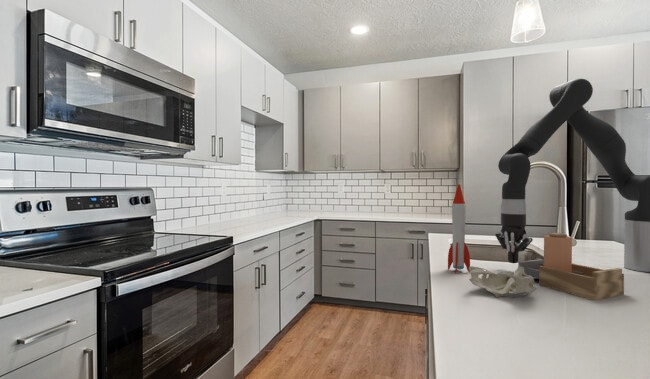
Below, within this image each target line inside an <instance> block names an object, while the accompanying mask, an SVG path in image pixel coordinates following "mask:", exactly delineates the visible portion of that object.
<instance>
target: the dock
mask: <svg viewBox="0 0 650 379" xmlns="http://www.w3.org/2000/svg"><path fill="white" fill-rule="evenodd" d="M572 270H573V271H578V272H582V273H583V275H579V274H575V273H570V272H566V271H562V270H557V269H553V268H549V267H544V266H539V279H538V282H539V283H538V284H539V286H543V287H546V288H549V287H550V289H553V290H557V291H561V292H564V293H566V294H567V293H568V294H570V295H573V296H578V297H582V298H584V299H588V300H593V301H597V300H601V299H602V300H603V299H607V298H611V297H617V296H623V295H624V294H625V274H624V273H623V268H620V267H613V268H609V269H601V268H596V267H592V266H586V265H581V264H577V263H572Z"/></svg>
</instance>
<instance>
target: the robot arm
mask: <svg viewBox="0 0 650 379" xmlns="http://www.w3.org/2000/svg"><path fill="white" fill-rule="evenodd" d="M593 90H594V88H593V85H592V83H591V82H590V81H589V80H588V79H585V78H575V79H571V80H569V81H566V82H564V83H560V84H559V85H556V86H554V87H553V88H552V89H551V90H550V92H549V95H548V96H549V101H550V104H551V106H552V107H553V108H552V109H550V111H548V112H547V113H546V114H545V115H544V116H542V117H541V118H540V119H538V120H537V121H536V122H535V123H533V124H532V125H531V126H530V127H529V128H528V129H527V130H526V132H525V133H524V135H523V136H522V137H521V138H520V139H519V140H518V142H517V143H516V144H514V145H512V147H511V148H510V149H509V150H507V151H506V152H505V153H504V154H503V155H502V156H501V158H500V160H499V161H498V163H497V164H498V166H497V168H498V171H499V172H501V173H502V174H503V175H508V179H507V181H506V182H504V183H503V184H502V187H501V205H500V224H501V225H500V226H502V227H501V229H500V232H498V233H495V238H496V239H497V241H498V243H499V244H500V246H501V247H502V249H503V250H506V251H507V261H508V263H510V264H517V263H518V262H519V253H520V252H524V251H525V250H526V249H527V247H528V246H529V245H531V243H532V242H533V240H534V239H533V238H532V237H529V236H528V235H527V231H526V229H525V228H526V226H527V202H526V186H527V183H528V180H529V177H530V172H531V165H532V164H531V160H530V159H529V158H530V157H533V156H535V155H537V154H538V153H539V152H540V151H541V150H542V149H543V147H544V145H545V144H546V143H547V142H548V141H549V140H550V139H551V137H553V135H554V134H555V133H556V132H557V131H558V130H559V129H560V127H561V126H562V125H564V124H565V122H567V123H568V124H569V125H570V126H571V128H573V130H574V132H576V134H577V135H578V136H579V137H580V138H581V139H582V141H583V143H584V144H585V146H586V147H587V148H588V150H589V151H590V152H591V154H593V156H594V157H595V158H596V159H597V160H598V162H599V164H600V165H601V167H602V168H603V169H604V170H605V171H606V172H607V175H608V177H609V178H610V180H611V181H612V183H613V185H614V187H615V188H616V190H617V191H618V192H619V194H620V196H621V197H622V198H624V199H626V200H628V201H633V202H637V206H636V207H634V208H633V209H631V210H628V211H626V212H625V213H624V239H623V240H624V242H623V244H624V246H623V252H624V253H623V267H624V268H625V269H628V270H632V271H637V272H644V273H645V272H646V273H650V174H635V173H634V172H633V171H632V170H631V169H630V167H629V166H628V163H627V162H626V153H627V146H626V142H625V140H624V139H623V137H622V136H621V134H620V133H619V132H618V130H616V128H614V127H613V126H612V125H611V124H609V123H608V122H606V121H604V120H602V119H600V118H599V117H596V116H594V115H593V114H591V113H590V112H588V110H586V108H585V107H584V106H585V105H586V103H588V102H589V101H590V99H591V98H592V96H593Z"/></svg>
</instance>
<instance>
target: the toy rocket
mask: <svg viewBox="0 0 650 379" xmlns="http://www.w3.org/2000/svg"><path fill="white" fill-rule="evenodd" d="M461 187H462V186H461V184H460V183H458V184H457V187H456V190H455V194H454V198H453V201H452V204H451V220H452V221H451V224H452V225H451V226H452V243H451V245H450V247H449V249H448V254H447V270H450V268H451V266H452V268H453V269H454V270H455V271H454V273H455V274H458V270H463V269H465V267H466V270H467V272H468V273H469V274H470V271H469V267H470V266H471V255H470V252H469V248H468V246H467V244H466V242H465V241H466V240H465V239H466V237H465V236H466V235H465V234H466V214H467V213H466V208H467V207H466V206H467V205H466V202H465V199H464V195H463V191H462V188H461Z"/></svg>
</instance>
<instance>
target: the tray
mask: <svg viewBox="0 0 650 379" xmlns="http://www.w3.org/2000/svg"><path fill="white" fill-rule="evenodd" d="M517 263H518V264H517V266H518V265H519V266H520V267H524V272H525V274H526V275H530V276H532V277H533V278H536V279H538V280H539V266H544V259H541V258H539V259H538V258H537V259H532V260H523V261H522V260H521V261H518V262H517ZM572 273H575V274H579V275H583V273H582V272H578V271H573V270H572Z"/></svg>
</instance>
